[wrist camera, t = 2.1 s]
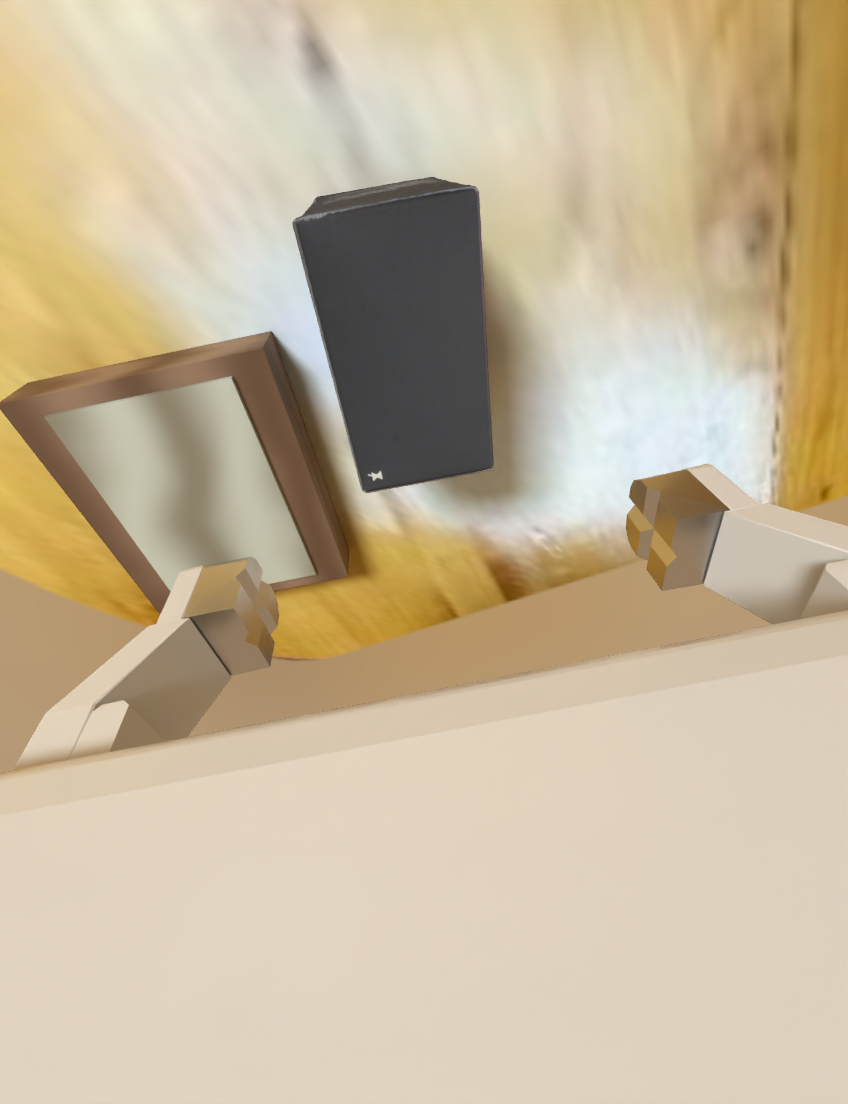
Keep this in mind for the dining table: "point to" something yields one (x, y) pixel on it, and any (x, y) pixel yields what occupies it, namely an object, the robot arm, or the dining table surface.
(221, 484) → the walnut picture frame
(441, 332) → the small box
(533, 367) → the dining table surface
